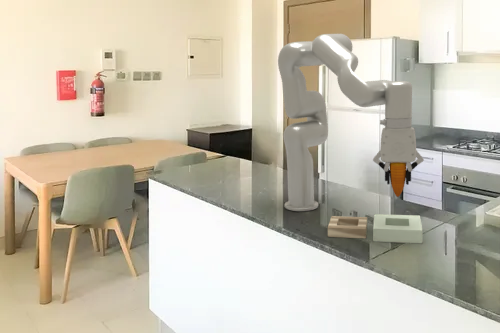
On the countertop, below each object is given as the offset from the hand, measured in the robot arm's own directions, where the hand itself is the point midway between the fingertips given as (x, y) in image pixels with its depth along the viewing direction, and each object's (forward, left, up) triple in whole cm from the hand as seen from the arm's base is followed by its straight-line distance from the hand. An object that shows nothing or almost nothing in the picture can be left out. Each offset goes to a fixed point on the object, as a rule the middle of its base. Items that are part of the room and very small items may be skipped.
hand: (397, 182), depth 155 cm
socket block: (-1, -15, -16) cm, 22 cm away
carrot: (0, 0, -5) cm, 5 cm away
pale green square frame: (0, 0, -16) cm, 16 cm away
